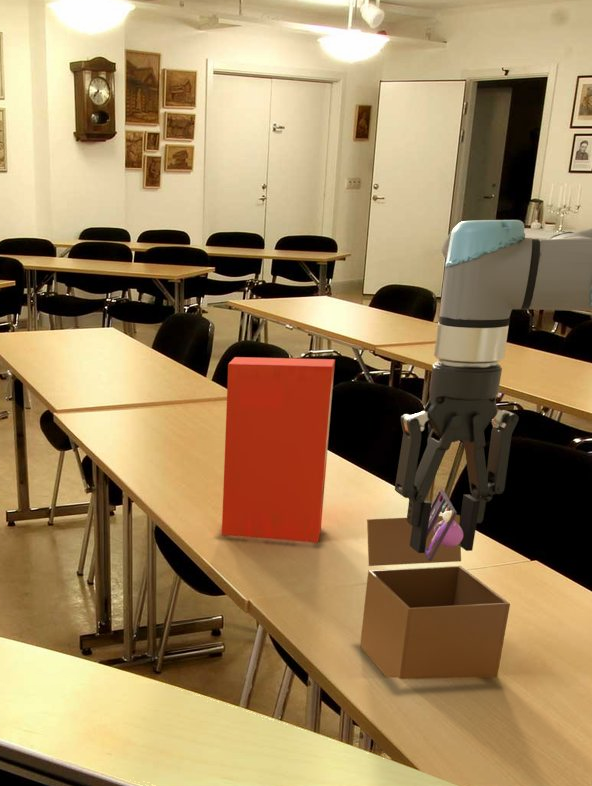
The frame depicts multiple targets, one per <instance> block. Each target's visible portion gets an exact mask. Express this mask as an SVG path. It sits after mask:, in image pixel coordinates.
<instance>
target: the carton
mask: <svg viewBox="0 0 592 786" xmlns="http://www.w3.org/2000/svg"><path fill="white" fill-rule="evenodd" d="M363 605H364V607H363V613H362V615H363V616H362V626H361V634H360V641H359V647H360V648H361V649H362V650H363V652H364V653H365V654H366V655H367V657H368V658H369V659H370V660H371V661H372V662H373V664H374V665H375V666H376V667H377V668H378V669H379V671H380V672H381V673H382V674H383V675H384V677H385V678H387V679H390V678H392V679H393V678H398V679H399V680H405V679H408V680H409V679H411V680H413V679H414V680H415V679H451V678H453V679H455V678H491V677H492V678H493V677H494V678H495V677H498V675H499V670H500V663H501V657H502V652H503V647H504V643H505V642H504V641H505V636H506V630H507V623H508V618H509V612H510V607H511V603H510V602H509V601H507V600H506V599H504V598H503V597H502V596H501V595H499V594H498V593H497V592H495V590H493V589H491V587H489V586H487V584H485V583H483V582H482V581H481V580H479V579H478V578H477V577H476V576H475V575H473V574H472V573H470V572H469V571H468V570H466V569H465V568H464V567H462V566H461V565H449V566H448V565H447V566H430V567H429V566H427V567H411V568H409V567H407V568H392V569H391V568H390V569H389V568H388V569H371V570H370V569H369V570H368V571H367V579H366V589H365V597H364V604H363Z"/></svg>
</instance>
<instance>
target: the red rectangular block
mask: <svg viewBox="0 0 592 786" xmlns="http://www.w3.org/2000/svg"><path fill="white" fill-rule="evenodd" d="M335 365H336V359H333V358H331V359H330V358H329V359H328V358H291V357H287V358H285V357H252V356H251V357H249V356H248V357H247V356H246V357H245V356H234V357H233V358H232V359H231V361H229V363H228V365H227V384H226V385H227V386H226V388H227V390H226V409H225V411H226V412H225V413H226V415H225V436H224V437H225V438H224V440H225V441H224V463H223V464H224V465H223V489H222V491H223V494H222V515H221V517H222V518H221V535H222V536H234V537H245V538H255V539H256V538H257V539H269V540H279V541H280V540H282V541H293V542H305V543H316V544H318V543H319V539H320V534H321V529H322V522H323V521H322V520H323V508H324V499H325V498H324V496H325V486H326V485H325V483H326V474H327V473H326V472H327V460H328V448H329V437H330V424H331V412H332V400H333V389H334V379H335V378H334V377H335V376H334V375H335V367H336V366H335Z"/></svg>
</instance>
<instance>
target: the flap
mask: <svg viewBox="0 0 592 786" xmlns="http://www.w3.org/2000/svg"><path fill="white" fill-rule="evenodd" d="M460 516H461V514H456V516H455V518H454V521H455V522H456V523H457V524H458V525H459V522H460ZM442 520H444V519H443V517H442V515H439V516H438V518H437V520H436V522H435V524H434V525H433V527H432V529H431V531H430V533H429V535H428V537H427V539H426V546H427V548H428V550H429V546H430V544H431V542H432V539H433V538H434V533H433V530H434V527H435V526H436V525H437V524H438V523H439V522H440V521H442ZM366 528H367V529H366V530H367V531H366V532H367V559H368V561H367V562H368V567H376V566H379V567H380V566H396V565H397V566H398V565H416V564H417V565H418V564H438V563H439V564H440V563H457V562H462V547H460V546H459V547H458V546H454V547H446V546H443V545H441V544H440V546H439V548H438V550H437V552H436V553H435V555H434V557H433V559H432V561H429V560H428V559H427V557H426V555H425V553H418V552H417V551H416V550H414V549H413V548H412V547H411V546H410V539H411V531H412V525H410V524H409V523H408V522H407V517H390V518H389V517H387V518H371V519H370V518H368V519H366ZM436 543H437V539H436V541H435V542H434V544H433V546H432V548H431V549H432V551H433V549H434V547H435V545H436ZM432 551H431V552H430V554H431V553H432Z"/></svg>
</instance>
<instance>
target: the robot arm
mask: <svg viewBox="0 0 592 786" xmlns="http://www.w3.org/2000/svg"><path fill="white" fill-rule="evenodd" d="M447 248H448V249H447V254H446V260H445V265H444V273H443V281H442V290H441V299H440V307H439V308H440V309H439V315H438V316H439V317H438V323H437V330H436V339H435V345H434V353H433V356H434V357H435V359H437V360H438V361H435V362H434V364H432V366H431V367H432V368H431V375H430V376H431V377H430V383H429V388H428V389H429V390H428V391H429V392H428V393H429V398H428V400H427V403H426V405H425V406H424V408H423V410H422V411H420V412H417V413H414V414H409V413H404V414H403V415H401V416H400V423H401V429H402V432H403V433H402V440H401V445H400V452H399V459H398V464H397V465H398V466H397V471H396V477H395V485H394V491H395V492H396V493H397V494H399V496H402V497H403V498H405V499H408V505H407V512H406V513H407V514H406V518H407V522H408V523H409V524H410V525H412V531H411V539H410V546H411V547H412V548H413V549H414V550H416V551H417V552H418V553H425V546H426V539H427V532H428V525H429V518H430V510H431V506H432V502H431V501H429V500H428V499H427V497H428V495H429V492H430V490H431V488H432V485H433V483H434V481H435V478H436V476H437V473H438V471H439V468H440V467H441V464H442V461H443V459H444V457H445V454H446V452H447V451H448V450H450V447H451V445H452V443H455V442H459V441H462V442H461V443H462V444H463V446H464V453H465V459H466V469H467V477H468V483H469V490H470V493H471V494H463V496H462V501H461V502H462V503H461V509H460V510H461V511H460V522H459V526H460V527H461V529H462V531H463V539H462V541H461V542H460V543H461V545H460V547H461V549H463V550H464V551H466V552H471V551H473V549H474V543H475V538H476V537H475V536H476V530H477V524H482V522H483V521H484V517H485V511H486V505H487V502H490V501H492V499H493V497H494V495H495V494H497V495H501V494H502V493H504V492H505V488H506V480H507V475H508V474H507V473H508V464H509V457H510V451H511V443H512V436H513V432H514V430H515V428H516V427H517V424H518V422H519V419H520V417H519V415H517V413H515V412H511V411H509V410H506V409H503V410H501V409H498V408H499V407H498V404H497V400H496V398H497V396H498V395H499V391H500V384H501V379H502V371H503V367H502V366H501V365H500V364H499V363H498V362H501V361H502V360H504V359H505V355H506V354H505V353H506V347H507V340H508V334H509V326H510V319H511V313H512V311H513V310H521V311H528V310H538V311H539V310H541V311H543V310H544V311H570V312H571V311H575V312H577V311H578V312H592V228H587V229H583V230H579V231H565V232H561V233H557V234H554V235H552V236H550V237H549V238H546V239H545V238H544V239H543V238H542V239H541V238H540V239H539V238H532V237H526V233H525V223H524V222H523V221H522V220H520V219H477V220H473V219H472V220H463V221H461V222H458V223H457V224H456V225H455V226H454V227H453V228H452V229H451V232H450V237H449V243H448V247H447ZM426 423H428V425H429V427H430V429H431V430H430V433H429V435H428V437H427V440H426V442H427V445H426V447H425V450H424V452H423V455H422V457H421V460H420V462H419V457H420V450H421V445H422V432H423V431H424V430H425V427H426V426H425V425H426ZM490 424H491V425H492V428H491V432H490V433H491V434H490V442H489V450H488V458H487V461H486V454H485V447H486V437H485V429H487V427H488V426H489V425H490ZM418 462H419V463H418ZM486 462H487V463H486Z"/></svg>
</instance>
